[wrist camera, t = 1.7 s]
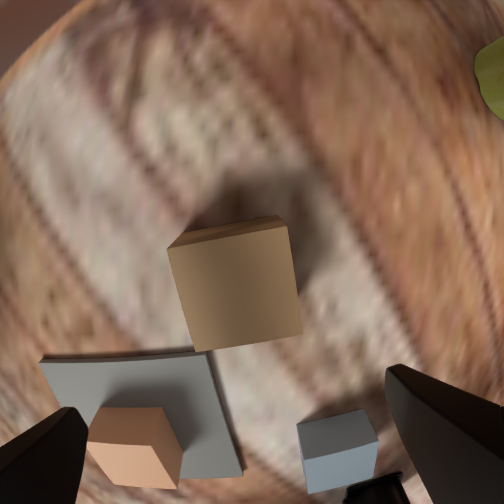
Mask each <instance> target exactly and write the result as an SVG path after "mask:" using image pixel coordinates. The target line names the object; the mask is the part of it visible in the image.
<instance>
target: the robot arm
mask: <svg viewBox="0 0 504 504" xmlns="http://www.w3.org/2000/svg"><path fill="white" fill-rule="evenodd" d="M384 393H385V398H386V400H387V403H388V406H389V408H390V411H391V413H392V416H393V419H394V421H395V424H396V427H397V430H398V432H399V435H400V437H401V440H402V442H403V444H404V446H405V448H406V450H407V452H408V454H409V456H410V458H411V460H412V462H413V464H414V466H415V468H416V470H417V472H418V474H419V476H420V478H421V480H422V482H423V484H424V486H425V488H426V490H427V492H428V494H429V496H430V498H431V500H432V502H433V504H504V406H501V407H500V405H498V404H496V403H493V402H491V401H488V400H486V399H483V398H481V397H478V396H476V395H473V394H471V393H469V392H466V391H464V390H461V389H459V388H457V387H454V386H452V385H449V384H447V383H445V382H442V381H440V380H438V379H435V378H433V377H431V376H428V375H426V374H424V373H421V372H419V371H417V370H414V369H412V368H410V367H408V366H405V365H403V364H396V365H393V366H390V367H388V368H387V369H386V373H385V386H384ZM88 434H89V429H88V426H87V424H86V422H85V421H84V419H83V418H82V416H81V414H80V413H79V411H78V410H77V409H76V408H75V407H67V406H65V407H62V408H61V409H59V410H58V411H56V412H55V413H53V414H52V415H50V416H48V417H47V418H45V419H44V420H42V421H41V422H39V423H38V424H36V425H35V426H33V427H31V428H30V429H28V430H27V431H25V432H24V433H22V434H20V435H19V436H17V437H16V438H14V439H13V440H11V441H9V442H8V443H6V444H5V445H3V446H1V447H0V504H75V502H76V498H77V493H78V489H79V485H80V481H81V476H82V472H83V466H84V459H85V452H86V446H87V440H88ZM402 477H403V473H402V472H397V473H394V474H392V475H389V476H386V477H383V478H380V479H376V480H373V481H370V482H367V483H363V484H360V485H356V486H352V487H349V488H348V489H347V490H346V498H345V499H344V500H343V502H342V504H410V501H409V499H408V497H407V495H406V493H405V490H404V488H403V486H402V484H401V480H402Z"/></svg>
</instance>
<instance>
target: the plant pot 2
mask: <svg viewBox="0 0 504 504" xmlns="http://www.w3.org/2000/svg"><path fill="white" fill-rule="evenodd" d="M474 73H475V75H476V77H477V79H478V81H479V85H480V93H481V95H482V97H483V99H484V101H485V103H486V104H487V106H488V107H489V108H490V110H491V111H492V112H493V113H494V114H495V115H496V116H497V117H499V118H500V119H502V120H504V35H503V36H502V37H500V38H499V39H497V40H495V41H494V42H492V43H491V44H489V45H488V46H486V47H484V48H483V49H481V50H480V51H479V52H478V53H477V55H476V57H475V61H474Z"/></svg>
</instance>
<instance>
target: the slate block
mask: <svg viewBox="0 0 504 504" xmlns="http://www.w3.org/2000/svg"><path fill="white" fill-rule="evenodd" d="M296 425H297V432H298V439H299V446H300V453H301V460H302V466H303V471H304V476H305V481H306V486H307V491H308V494H312V493H317V492H321V491H326V490H330V489H334V488H338V487H342V486H346V485H350V484H353V483H357V482H360V481H364V480H367V479H370V478H373V474H374V468H375V463H376V457H377V451H378V444H379V440H378V438H377V435H376V433H375V431H374V429H373V427H372V425H371V423H370V421H369V419H368V417H367V415H366V413H365V411H364V408H363V409H360V410H356V411H353V412H349V413H345V414H341V415H337V416H333V417H329V418H325V419H320V420H316V421H311V422H306V423H301V424H296Z"/></svg>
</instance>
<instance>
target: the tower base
mask: <svg viewBox="0 0 504 504" xmlns="http://www.w3.org/2000/svg"><path fill="white" fill-rule="evenodd" d="M39 365H40V367H41V369H42V372H43V374H44V376H45V378H46V380H47V381H48V383H49V385H50V387H51V389H52V391H53V393H54V395H55V397H56V398H57V400H58V402H59V404H60V405H61V407H65V406H67V407H75V408H76V409H77V410H78V411H79V413H80V414H81V416H82V418H83V419H84V421H85V422H86V424H87V426H88V429H89V434H88V440H87V446H86V448H87V449H88V450H89V452H90V453H91V455H92V456H93V457H94V459H95V460H96V462H97V463H98V464H99V466H100V467H101V468H102V470H103V471H104V472H105V474H106V475H107V476H108V477H109V479H110V480H111V481H112V482H113V484H118V485H126V486H135V487H147V488H163V489H178V483H179V479H207V478H228V477H241V476H243V469H242V466H241V463H240V460H239V457H238V455H237V452H236V449H235V445H234V442H233V439H232V436H231V433H230V430H229V427H228V424H227V421H226V417H225V414H224V411H223V408H222V404H221V401H220V398H219V394H218V391H217V387H216V384H215V380H214V377H213V373H212V370H211V366H210V363H209V359H208V355H207V352H206V351H201V352H195V351H192V352H183V353H172V354H161V355H149V356H135V357H118V358H95V359H41V361H40V362H39Z"/></svg>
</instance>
